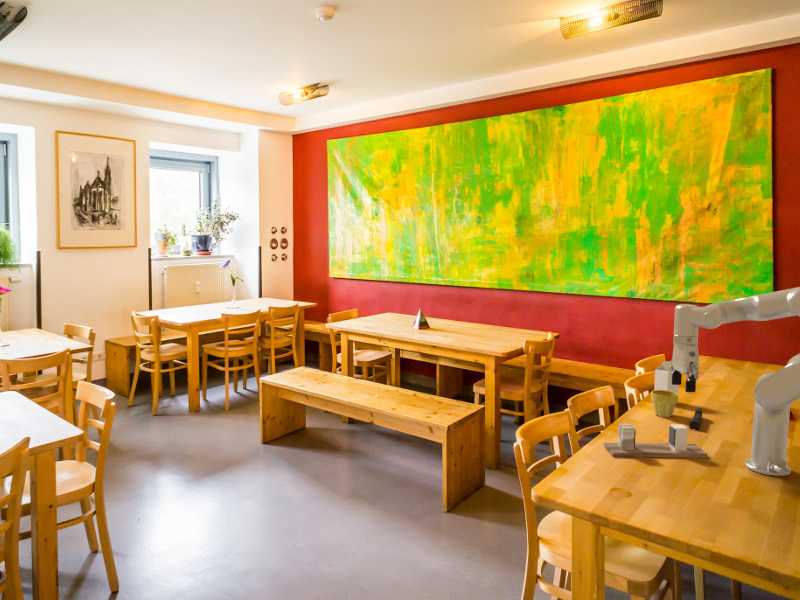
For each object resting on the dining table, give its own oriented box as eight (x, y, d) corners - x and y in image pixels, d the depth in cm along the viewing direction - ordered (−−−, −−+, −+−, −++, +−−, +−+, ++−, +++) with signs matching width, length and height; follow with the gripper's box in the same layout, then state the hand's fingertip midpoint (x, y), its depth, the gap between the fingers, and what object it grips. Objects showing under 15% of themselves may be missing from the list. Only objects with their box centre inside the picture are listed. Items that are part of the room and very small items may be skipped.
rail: (707, 457, 191) (708, 431, 190) (612, 456, 192) (613, 430, 191) (694, 448, 200) (695, 422, 199) (604, 446, 201) (605, 421, 200)
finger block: (686, 450, 194) (687, 428, 193) (673, 450, 194) (674, 428, 193) (680, 446, 198) (682, 424, 197) (668, 446, 198) (669, 424, 197)
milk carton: (653, 401, 257) (655, 360, 255) (664, 399, 260) (666, 359, 258) (666, 405, 251) (668, 363, 249) (677, 403, 254) (679, 362, 252)
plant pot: (656, 409, 244) (657, 388, 243) (681, 415, 237) (682, 393, 236) (645, 414, 238) (646, 392, 236) (670, 420, 230) (672, 397, 229)
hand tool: (700, 431, 218) (700, 420, 217) (688, 429, 220) (689, 418, 219) (706, 419, 233) (707, 408, 232) (696, 417, 235) (696, 406, 235)
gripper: (710, 344, 184) (707, 395, 186) (683, 335, 202) (681, 382, 204) (687, 344, 185) (684, 395, 186) (663, 335, 202) (661, 382, 204)
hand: (683, 388), depth 195 cm, fingers open, 9 cm apart
